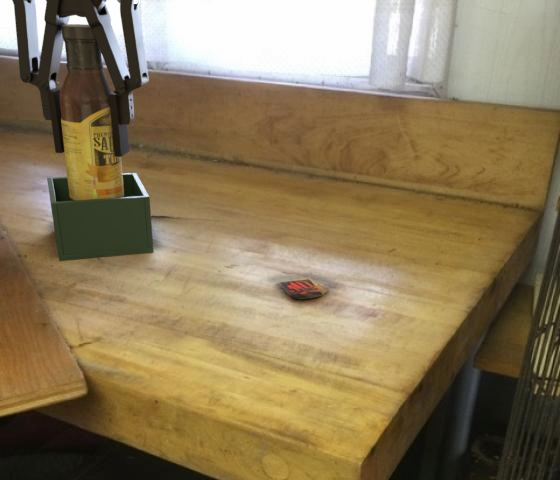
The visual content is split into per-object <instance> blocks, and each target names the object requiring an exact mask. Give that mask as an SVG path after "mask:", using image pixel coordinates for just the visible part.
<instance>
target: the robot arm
mask: <svg viewBox="0 0 560 480" xmlns="http://www.w3.org/2000/svg"><path fill="white" fill-rule="evenodd" d="M11 1H12V4H13V8H14V9H13V11H14V20H15V21H14V22H15V34H16V44H17V46H16V47H17V57H18V69H19V78H20V80H21V82H23V83H25V84H30V85H33V86H35V87H36V88H37V89H38V90H39V95H40V101H41V106H42V107H41V108H42V115H43V118H44V120H45V121H50V122H51V129H52V137H53V144H54V151H55V154H63V153H65V152H64V143H63V134H62V125H61V117H62V115H61V106H60V90H61V87H57V86H59V85H60V81H58V78H59V73H60V67H61V61H62V54H63V49H64V44H65V42H64V40H63V37H62V27H61V26H62V25H65V24H69V22H70V17H73V16H77V17H78V18H79V17H80V18H85V19H86V22H87V25H89V26H90V27H91V28H92V30H93V32H94V35H95V38H96V40H97V43H98V45H99V48H100V51H101V56H102V59H103V62H104V64H105V66H106V69H107V71H108V74H109V76H110V79H111V82H112V84H113V87H114V90H112V93H111V94H109V101H110V111H111V122H112V132H113V143H114V153H115V156H116V157H121V158H122V157H123V156H125V155H127V154H128V153H129V152H130V141H129V130H128V125H131V124H132V123H134V121H135V108H134V107H135V106H134V91H135V90H137V89H140V88H142V87H145V86H146V85H148V84H149V81H150V77H149V70H148V64H147V57H146V56H147V55H146V49H145V43H144V35H143V28H142V21H141V13H140V3H141V0H116V1H117V2H118V3H119V14H120V19H121V27H122V33H123V34H122V35H123V40H124V47H125V54H126V60H125V57H124V55H123V52H122V50H121V47H120V45H119V42H118V38H117V36H116V34H115V30H114V28H113V26H112V18H111V15H110V12H109V10H108V7H107V1H108V0H45V1H46V4H45V10H44V17H43V19H44V22H45V25H44V30H43V37H42V44H41V52H40V47H39V45H40V44H39V33H38V32H39V31H38V18H37V17H38V15H37V6H36V2H35V0H11ZM126 61H127V63H126Z"/></svg>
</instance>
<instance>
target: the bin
mask: <svg viewBox="0 0 560 480" xmlns="http://www.w3.org/2000/svg"><path fill="white" fill-rule="evenodd" d="M46 180H47V181H46V182H47V188H48V193H49V202H50V208H51V214H52V222H53V228H54V235H55V243H56V249H57V256H58V257H57V258H58V261H71V260H81V259H92V258H93V259H94V258H105V257H113V256H114V257H115V256H125V255H126V256H127V255H136V254H137V255H138V254H148V253H154V242H153V241H154V240H153V226H152V225H153V224H152V212H151V211H152V210H151V200H150V199H151V198H150V196H149V194H148V191H147V190H146V188H145V186H144V185H143V183H142V181H141V179H140V177H139V176H138V174H137V172H127V173H123V186H124V197H119V198H104V199H89V200H74V201H72V199H71V198H70V196H69V187H68V179H67V176H59V177H58V176H57V177H56V176H55V177H47V178H46Z"/></svg>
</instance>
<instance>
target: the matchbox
mask: <svg viewBox="0 0 560 480" xmlns="http://www.w3.org/2000/svg"><path fill="white" fill-rule="evenodd" d="M275 286H280V287H281V288H282V289H283V290H284V291H285V292H284V293H285V295H287V294H288V295H289V296H290V297H292V298H293V299H295V300H303V299H304V300H305V299H312V298H318V297H321V296H324V295H325V293H327V292H329V288H328V287H327V286H324V285H322V284H320V283H317V284H316V282H314V281H313V279H311V278H310V277H308V278H298V279H292V278H290V279H289V280H285V281H284V280H283V281H278V283H275ZM307 301H310V300H307Z"/></svg>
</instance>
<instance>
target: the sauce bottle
mask: <svg viewBox="0 0 560 480" xmlns="http://www.w3.org/2000/svg"><path fill="white" fill-rule="evenodd" d="M61 27H62V37H63V40H64V49H65V57H66V58H65V59H66V65H65V66H66V70H67V74H66V76H65V78H64V80H63V84H62V86H61V87H60V88H61V90H60V106H61V115H62V117H61V125H62V134H63V143H64V152H63V153H64V159H65V171H66V177H67V179H68V187H69V196H70V198H71V199H72V201H74V200H89V199H104V198H119V197H124V186H123V174H124V173H123V164H122V163H123V162H122V157H116V156H115V153H114V143H113V132H112V122H111V111H110V101H109V94H111V93H113V90H112V87H111V86H110V83H109V81H108V78H107V77H106V73H105V71H104V64H103V56H102V53H101V51H100V48H99V45H98V43H97V40H96V38H95V35H94V32H93V30H92V28H91V27H90V26H89V24H80V23H79V24H78V23H76V24H75V23H74V24H73V23H71V24H69V23H68V24H65V25H62V26H61Z"/></svg>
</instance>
